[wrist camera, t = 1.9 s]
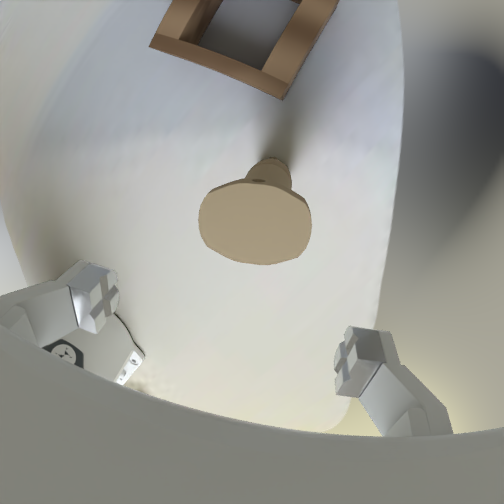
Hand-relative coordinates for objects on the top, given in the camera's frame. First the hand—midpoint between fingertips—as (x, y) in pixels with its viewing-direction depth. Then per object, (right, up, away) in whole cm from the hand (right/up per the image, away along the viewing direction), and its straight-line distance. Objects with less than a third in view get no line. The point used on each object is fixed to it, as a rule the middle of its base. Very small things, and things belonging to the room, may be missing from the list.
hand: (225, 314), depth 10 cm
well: (+1, +24, +14) cm, 28 cm away
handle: (+3, +10, +21) cm, 23 cm away
